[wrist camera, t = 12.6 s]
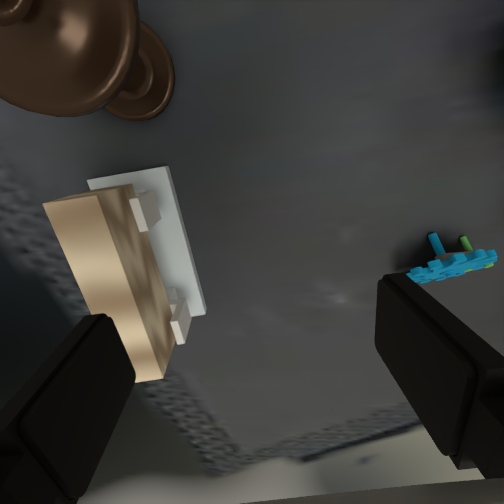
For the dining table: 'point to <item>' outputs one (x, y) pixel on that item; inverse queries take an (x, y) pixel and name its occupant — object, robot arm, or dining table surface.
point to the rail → (117, 272)
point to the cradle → (164, 240)
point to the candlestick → (82, 59)
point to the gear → (452, 262)
